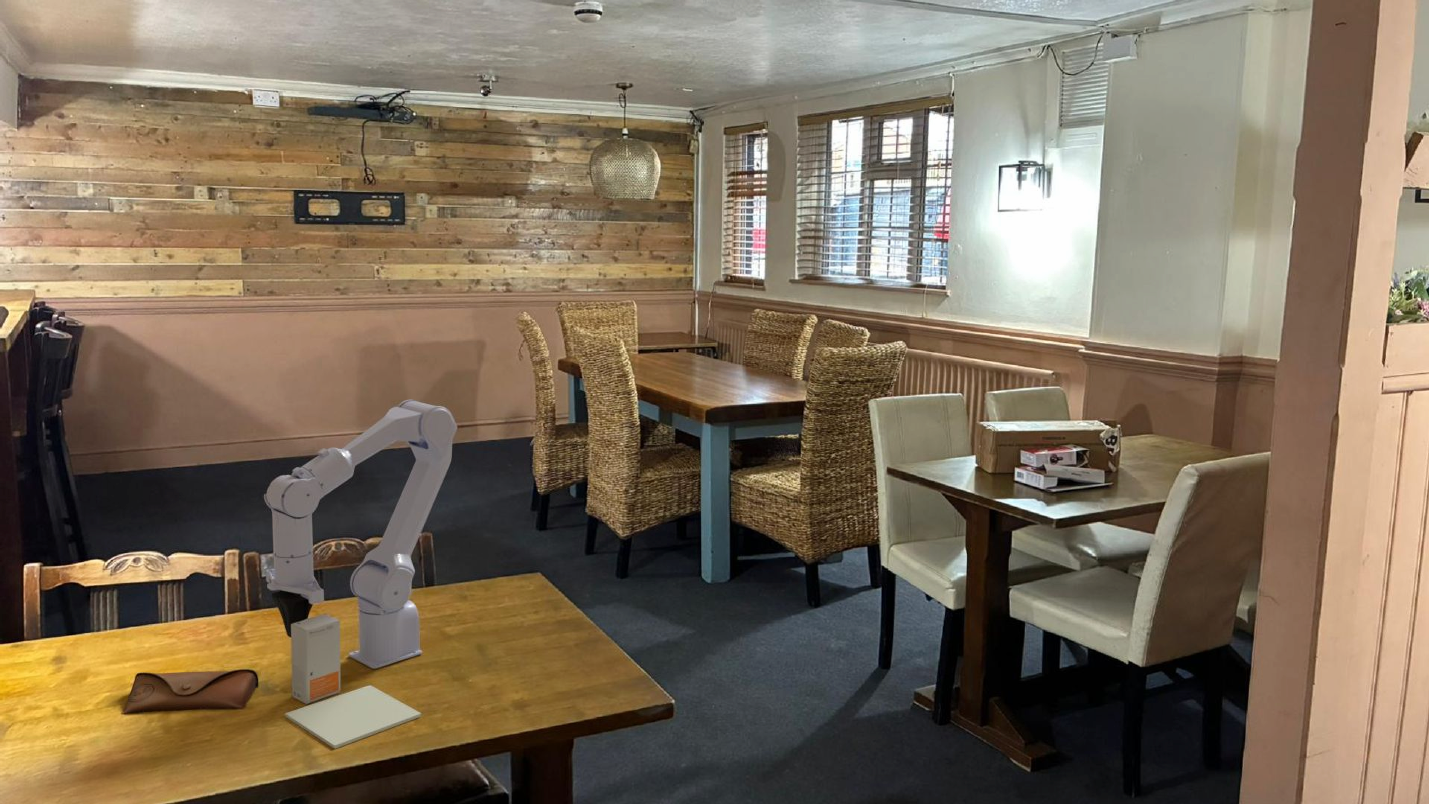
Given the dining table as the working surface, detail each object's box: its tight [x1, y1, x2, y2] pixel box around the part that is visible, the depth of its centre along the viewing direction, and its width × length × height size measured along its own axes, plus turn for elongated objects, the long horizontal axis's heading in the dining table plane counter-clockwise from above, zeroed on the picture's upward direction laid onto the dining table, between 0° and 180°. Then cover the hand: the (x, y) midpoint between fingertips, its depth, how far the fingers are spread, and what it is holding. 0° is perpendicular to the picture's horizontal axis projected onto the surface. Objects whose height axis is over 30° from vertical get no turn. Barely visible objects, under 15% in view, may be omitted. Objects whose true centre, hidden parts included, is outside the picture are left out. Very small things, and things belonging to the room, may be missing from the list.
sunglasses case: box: [120, 668, 259, 715], centre depth 160 cm, size 18×7×7 cm, turn 102°
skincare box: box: [290, 613, 342, 705], centre depth 162 cm, size 6×4×12 cm
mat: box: [284, 684, 422, 750], centre depth 156 cm, size 14×14×1 cm
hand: (295, 635), depth 165 cm, fingers closed
